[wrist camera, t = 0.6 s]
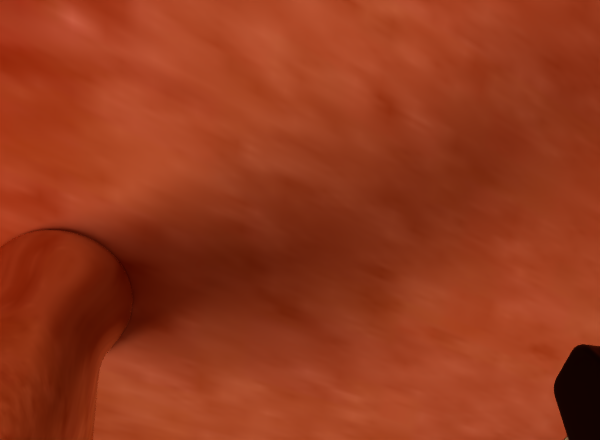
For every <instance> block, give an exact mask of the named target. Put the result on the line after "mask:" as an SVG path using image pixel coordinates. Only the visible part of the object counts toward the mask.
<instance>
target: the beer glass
mask: <svg viewBox="0 0 600 440" xmlns="http://www.w3.org/2000/svg"><path fill="white" fill-rule="evenodd" d="M132 305H133V297H132V289H131V284H130V281H129V278H128V276H127V274H126V272H125V270H124V268H123V267H122V265H121V264H120V262H119V261H118V260H117V259H116V257H115V256H114V255H113V254H112V253H111V252H110V251H108V250H107V249H106V248H105V247H103V246H102V245H100V244H99V243H97V242H96V241H94V240H92V239H90V238H88V237H85V236H83V235H80V234H77V233H74V232H69V231H64V230H39V231H33V232H29V233H26V234H23V235H20V236H18V237H15V238H13V239H12V240H10V241H8V242H7V243H5V244H4V245H2V246H1V247H0V440H93V431H94V421H95V411H96V400H97V388H98V379H99V371H100V367H101V364H102V361H103V359H104V357H105V355H106V354H107V353H108V351H109V350H110V349H111V348H112V347H113V345H114V344H115V343H116V342H117V340H118V339H119V338H120V336H121V335H122V333H123V332H124V330H125V328H126V326H127V324H128V321H129V319H130V316H131V312H132Z"/></svg>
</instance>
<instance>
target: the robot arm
mask: <svg viewBox="0 0 600 440" xmlns="http://www.w3.org/2000/svg"><path fill="white" fill-rule="evenodd" d="M554 394H555V398H556V401H557V405H558V408H559V411H560V414H561V417H562V420H563V424H564V427H565V430H566V433H567V436H568V439H569V440H600V346H593V345H585V344H582V345H578V346H576V347H575V348H574V349H573V350H572V352H571V354H570V355H569V357H568V359H567V360H566V362H565V364H564V366H563V367H562V369H561V371H560V373H559V374H558V376H557V378H556V380H555V384H554Z"/></svg>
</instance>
